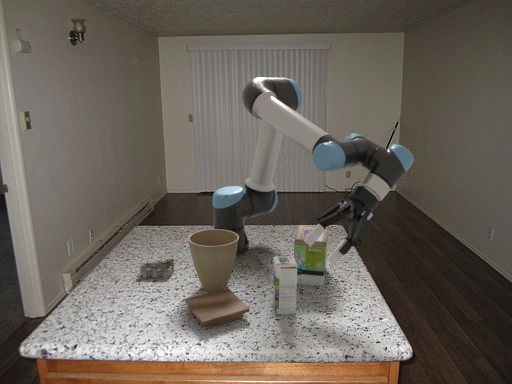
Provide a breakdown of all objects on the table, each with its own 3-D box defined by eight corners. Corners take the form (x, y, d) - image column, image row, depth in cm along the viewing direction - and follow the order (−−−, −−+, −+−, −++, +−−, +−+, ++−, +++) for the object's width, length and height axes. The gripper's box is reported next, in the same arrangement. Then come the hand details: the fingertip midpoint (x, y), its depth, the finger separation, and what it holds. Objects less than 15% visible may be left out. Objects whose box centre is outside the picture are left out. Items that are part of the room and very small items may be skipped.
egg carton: (176, 269, 134) (176, 258, 133) (170, 279, 127) (169, 267, 126) (145, 268, 135) (144, 257, 134) (137, 278, 127) (137, 266, 127)
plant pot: (203, 303, 111) (201, 250, 108) (183, 282, 124) (180, 234, 120) (248, 289, 119) (248, 239, 115) (225, 271, 131) (224, 226, 128)
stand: (185, 308, 108) (184, 298, 108) (228, 297, 114) (228, 287, 114) (202, 332, 97) (202, 321, 97) (249, 318, 103) (249, 308, 103)
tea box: (324, 287, 120) (326, 241, 117) (292, 284, 122) (292, 239, 119) (326, 266, 135) (327, 225, 131) (297, 264, 137) (297, 223, 133)
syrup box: (272, 304, 110) (272, 256, 107) (293, 303, 111) (294, 255, 107) (274, 315, 105) (275, 264, 101) (296, 314, 105) (298, 263, 102)
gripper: (407, 214, 98) (351, 279, 97) (351, 192, 121) (306, 244, 120) (390, 195, 95) (333, 262, 94) (337, 176, 118) (290, 230, 117)
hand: (318, 252), depth 107 cm, fingers open, 13 cm apart
